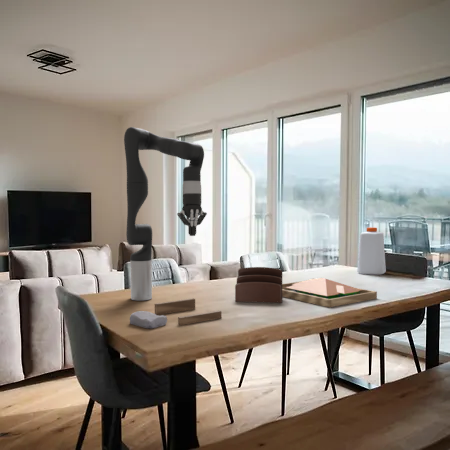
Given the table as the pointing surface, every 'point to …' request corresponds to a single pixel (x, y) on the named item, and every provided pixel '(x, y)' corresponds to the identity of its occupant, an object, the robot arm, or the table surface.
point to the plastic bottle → (371, 253)
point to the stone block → (147, 319)
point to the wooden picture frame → (325, 302)
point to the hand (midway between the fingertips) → (192, 235)
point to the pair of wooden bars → (182, 306)
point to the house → (324, 288)
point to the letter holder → (259, 285)
